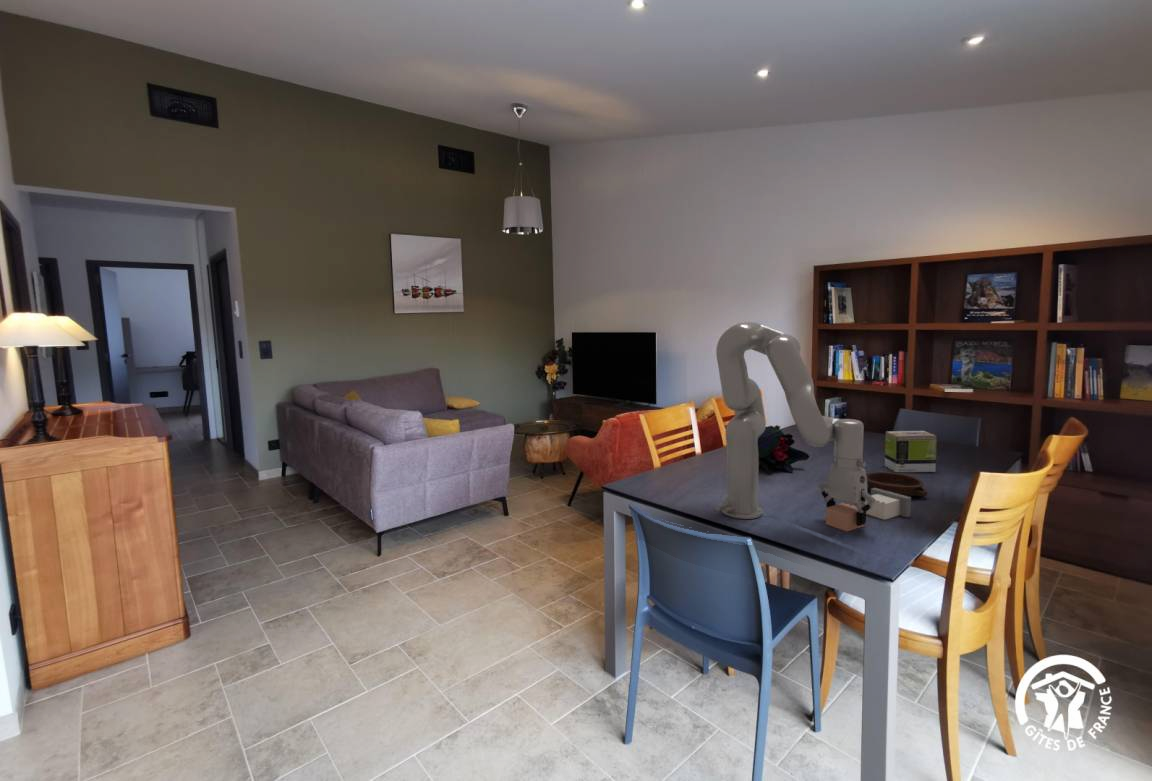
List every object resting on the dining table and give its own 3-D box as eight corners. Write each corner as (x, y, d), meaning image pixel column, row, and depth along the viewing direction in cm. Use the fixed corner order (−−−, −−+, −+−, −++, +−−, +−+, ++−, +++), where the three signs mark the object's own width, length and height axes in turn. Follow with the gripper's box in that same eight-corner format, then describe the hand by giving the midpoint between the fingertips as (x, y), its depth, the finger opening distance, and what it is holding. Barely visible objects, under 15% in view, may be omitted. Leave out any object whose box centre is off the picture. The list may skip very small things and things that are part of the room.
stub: (847, 531, 161) (847, 514, 160) (825, 524, 167) (826, 507, 166) (864, 525, 165) (865, 508, 164) (843, 518, 171) (843, 502, 170)
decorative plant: (768, 483, 241) (828, 482, 215) (721, 467, 231) (778, 463, 205) (774, 437, 247) (833, 430, 221) (729, 418, 237) (785, 409, 211)
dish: (914, 506, 184) (915, 491, 184) (847, 490, 202) (848, 476, 201) (937, 494, 195) (938, 480, 194) (871, 480, 212) (872, 467, 211)
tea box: (922, 466, 229) (924, 430, 227) (935, 473, 219) (938, 435, 217) (883, 466, 231) (885, 430, 229) (894, 473, 221) (896, 435, 219)
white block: (892, 522, 167) (893, 502, 166) (855, 511, 177) (856, 492, 177) (916, 514, 173) (917, 495, 172) (879, 504, 183) (880, 486, 182)
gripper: (884, 467, 158) (881, 526, 160) (829, 454, 173) (827, 508, 175) (867, 471, 154) (864, 531, 156) (813, 458, 169) (811, 513, 171)
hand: (845, 519), depth 166 cm, fingers open, 9 cm apart
